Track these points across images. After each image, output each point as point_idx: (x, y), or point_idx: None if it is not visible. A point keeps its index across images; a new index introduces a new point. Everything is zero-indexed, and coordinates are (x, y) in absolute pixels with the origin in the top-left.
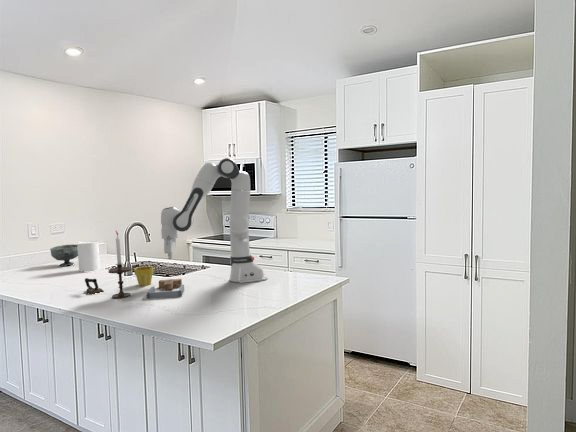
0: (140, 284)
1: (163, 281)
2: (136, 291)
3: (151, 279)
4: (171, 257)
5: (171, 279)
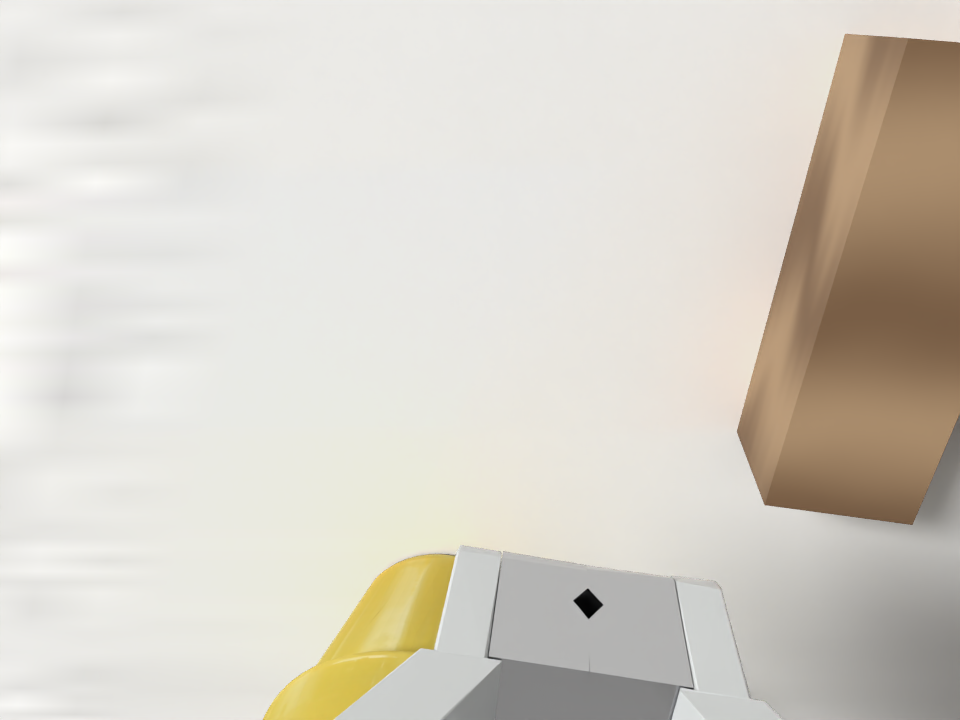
0: None
1: (945, 442)
2: (848, 702)
3: (428, 590)
4: (732, 633)
5: (849, 288)
